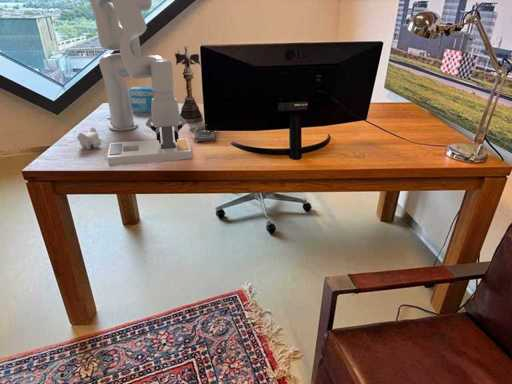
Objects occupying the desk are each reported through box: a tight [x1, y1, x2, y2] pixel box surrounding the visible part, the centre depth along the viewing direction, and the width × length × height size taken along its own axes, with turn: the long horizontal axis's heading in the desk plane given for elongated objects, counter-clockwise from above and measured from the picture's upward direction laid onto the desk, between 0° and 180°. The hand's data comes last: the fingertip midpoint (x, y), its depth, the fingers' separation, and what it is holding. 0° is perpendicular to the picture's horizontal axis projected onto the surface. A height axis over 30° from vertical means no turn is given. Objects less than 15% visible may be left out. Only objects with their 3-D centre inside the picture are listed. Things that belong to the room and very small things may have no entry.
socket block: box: [107, 137, 192, 166], centre depth 139 cm, size 30×14×3 cm, turn 106°
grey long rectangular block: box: [160, 126, 174, 149], centre depth 138 cm, size 4×4×14 cm
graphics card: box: [188, 123, 217, 142], centre depth 159 cm, size 17×4×12 cm
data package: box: [129, 86, 153, 113], centre depth 183 cm, size 12×4×12 cm, turn 95°
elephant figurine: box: [76, 127, 104, 150], centre depth 142 cm, size 8×10×7 cm
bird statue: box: [174, 45, 203, 124], centre depth 172 cm, size 17×13×35 cm
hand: (167, 141), depth 139 cm, fingers open, 5 cm apart
